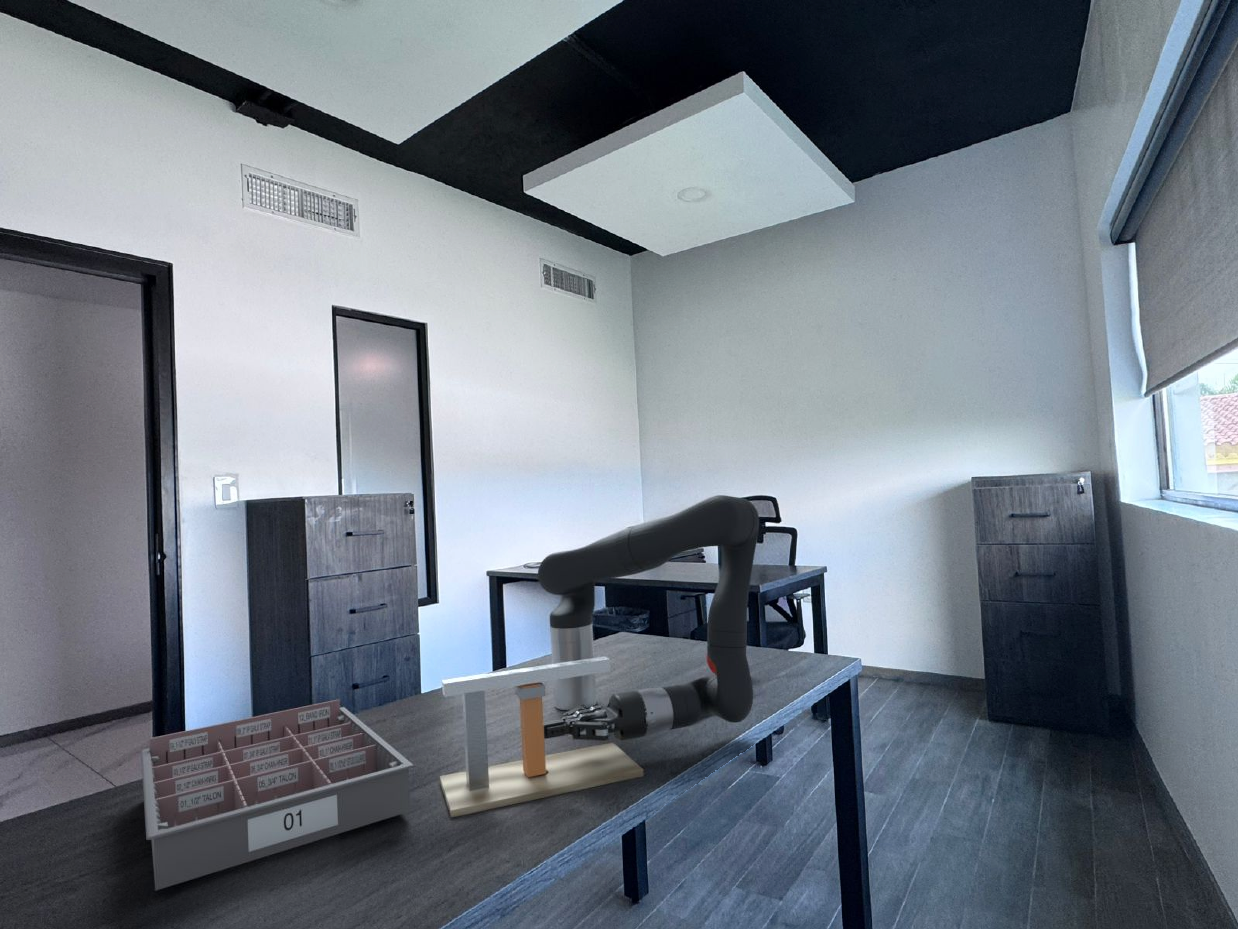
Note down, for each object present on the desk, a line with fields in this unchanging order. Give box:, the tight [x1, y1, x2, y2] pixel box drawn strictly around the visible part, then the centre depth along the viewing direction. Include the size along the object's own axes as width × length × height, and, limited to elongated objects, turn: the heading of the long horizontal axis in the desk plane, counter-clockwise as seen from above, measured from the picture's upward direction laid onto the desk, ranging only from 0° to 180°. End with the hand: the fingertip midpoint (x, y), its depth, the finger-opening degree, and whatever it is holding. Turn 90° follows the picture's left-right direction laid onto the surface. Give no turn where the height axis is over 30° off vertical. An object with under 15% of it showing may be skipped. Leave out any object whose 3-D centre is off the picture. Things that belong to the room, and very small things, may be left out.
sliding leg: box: [514, 682, 547, 777], centre depth 112 cm, size 4×4×14 cm
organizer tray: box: [140, 699, 415, 892], centre depth 108 cm, size 32×40×10 cm
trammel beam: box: [441, 656, 611, 791], centre depth 112 cm, size 3×27×17 cm, turn 111°
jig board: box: [439, 742, 645, 818], centre depth 112 cm, size 14×30×1 cm, turn 111°
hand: (541, 731), depth 113 cm, fingers closed
